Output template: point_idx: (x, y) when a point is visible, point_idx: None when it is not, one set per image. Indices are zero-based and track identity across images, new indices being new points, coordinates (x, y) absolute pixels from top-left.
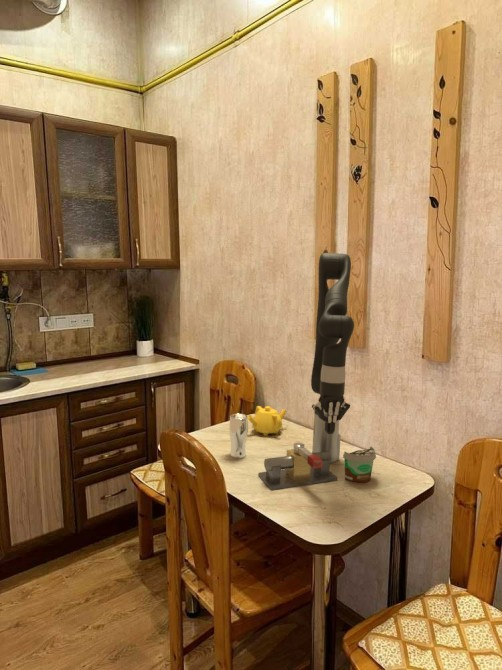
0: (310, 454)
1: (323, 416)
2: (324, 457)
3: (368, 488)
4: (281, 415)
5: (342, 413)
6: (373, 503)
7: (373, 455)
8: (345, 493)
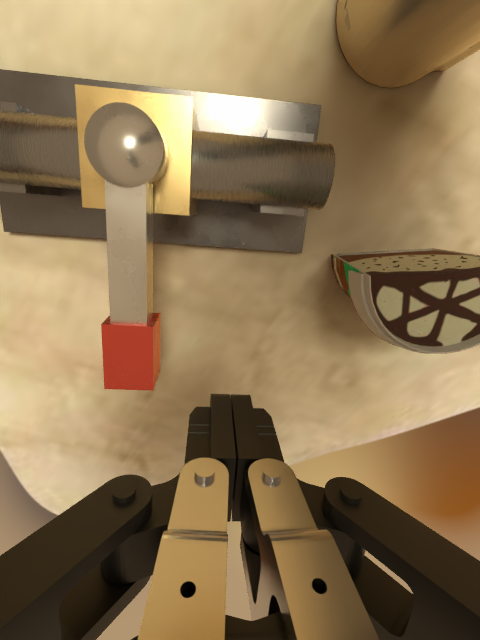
0: (130, 306)
1: (88, 621)
2: (283, 203)
3: (356, 340)
4: None
5: (394, 637)
6: (300, 417)
7: (469, 345)
8: (263, 343)
